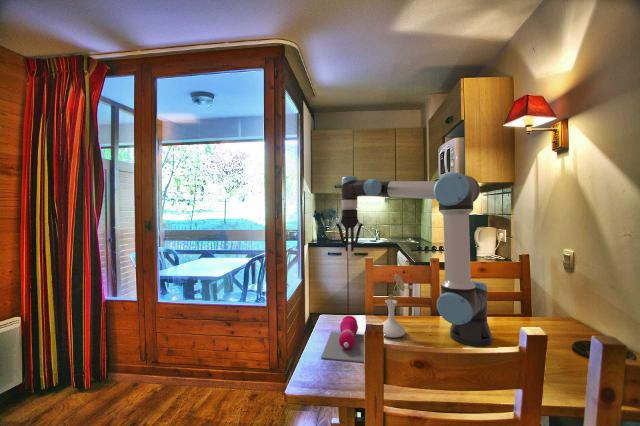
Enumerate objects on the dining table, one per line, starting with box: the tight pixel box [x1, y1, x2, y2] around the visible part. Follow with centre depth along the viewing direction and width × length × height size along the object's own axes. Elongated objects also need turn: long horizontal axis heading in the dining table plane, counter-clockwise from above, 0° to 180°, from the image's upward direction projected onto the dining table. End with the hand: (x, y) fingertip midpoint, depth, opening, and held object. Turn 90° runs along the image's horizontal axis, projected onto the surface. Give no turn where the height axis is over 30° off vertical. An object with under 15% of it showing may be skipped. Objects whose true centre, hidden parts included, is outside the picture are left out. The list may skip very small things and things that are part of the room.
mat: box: [320, 331, 365, 364], centre depth 114 cm, size 22×16×1 cm
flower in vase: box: [381, 273, 407, 338], centre depth 126 cm, size 13×11×25 cm
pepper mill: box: [339, 315, 359, 349], centre depth 117 cm, size 7×7×20 cm
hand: (349, 258), depth 146 cm, fingers closed
